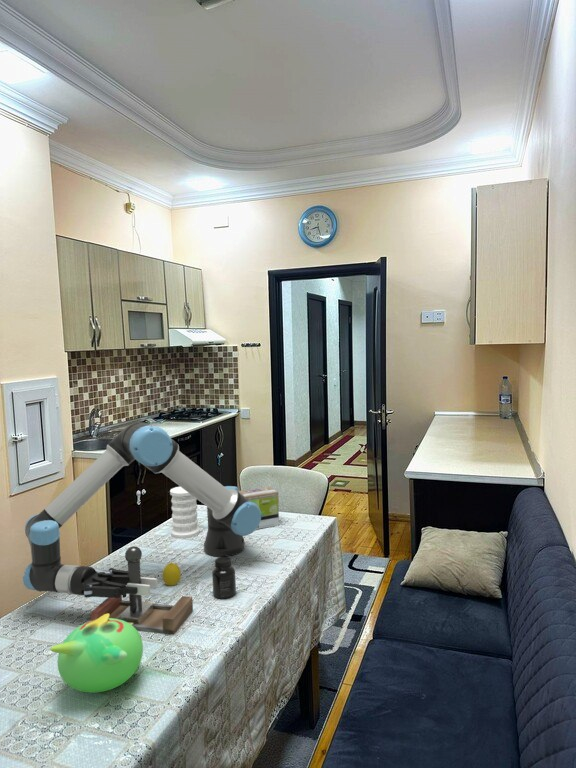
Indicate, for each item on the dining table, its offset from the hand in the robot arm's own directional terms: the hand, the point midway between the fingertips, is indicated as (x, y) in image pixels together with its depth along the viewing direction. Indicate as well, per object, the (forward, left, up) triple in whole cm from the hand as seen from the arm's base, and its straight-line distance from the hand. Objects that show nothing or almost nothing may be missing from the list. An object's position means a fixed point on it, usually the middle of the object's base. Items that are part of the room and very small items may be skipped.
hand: (153, 587), depth 139 cm
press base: (+2, -3, -10) cm, 11 cm away
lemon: (-15, -16, -11) cm, 24 cm away
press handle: (+3, -5, -9) cm, 11 cm away
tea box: (-70, -39, -11) cm, 81 cm away
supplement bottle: (-22, +2, -11) cm, 24 cm away
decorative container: (-44, -54, -11) cm, 70 cm away
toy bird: (+21, +14, -11) cm, 28 cm away
